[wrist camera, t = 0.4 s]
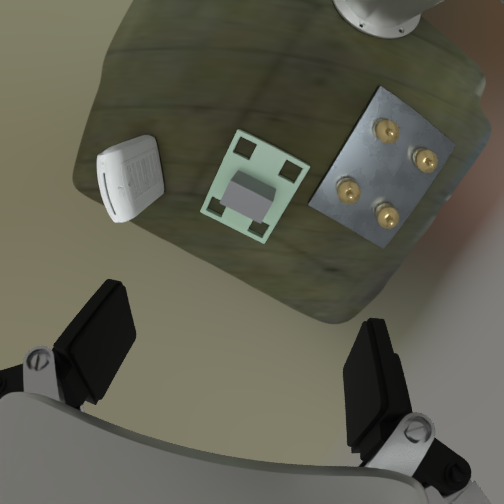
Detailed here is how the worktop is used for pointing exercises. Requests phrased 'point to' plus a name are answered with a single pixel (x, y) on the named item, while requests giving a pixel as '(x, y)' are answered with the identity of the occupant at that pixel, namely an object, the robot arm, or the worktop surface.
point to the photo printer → (130, 177)
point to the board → (261, 171)
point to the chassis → (382, 169)
